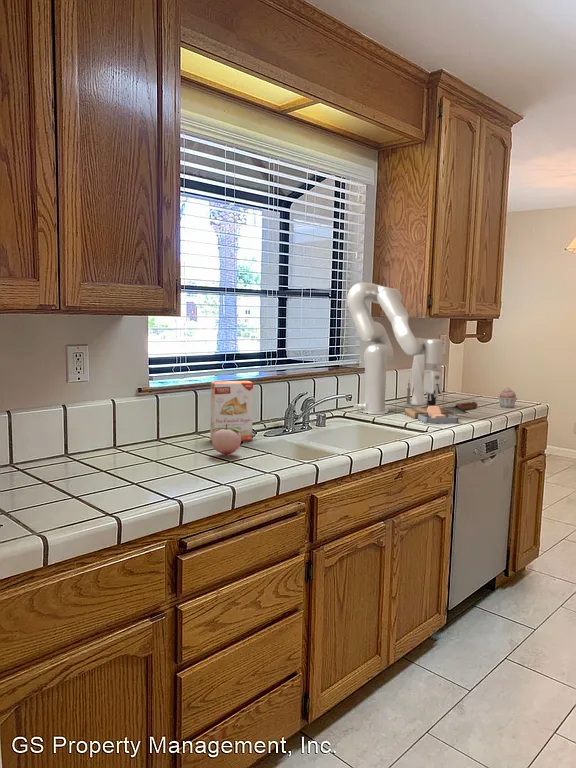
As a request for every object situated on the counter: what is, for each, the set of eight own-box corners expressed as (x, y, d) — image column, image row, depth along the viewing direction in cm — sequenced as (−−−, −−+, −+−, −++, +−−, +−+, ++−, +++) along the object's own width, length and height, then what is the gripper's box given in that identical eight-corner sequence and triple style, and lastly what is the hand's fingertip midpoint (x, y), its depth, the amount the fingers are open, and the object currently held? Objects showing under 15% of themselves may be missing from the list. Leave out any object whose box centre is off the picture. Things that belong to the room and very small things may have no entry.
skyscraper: (417, 403, 294) (419, 348, 291) (429, 405, 287) (431, 349, 284) (405, 404, 289) (407, 349, 286) (417, 406, 283) (420, 350, 279)
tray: (426, 424, 237) (426, 418, 237) (417, 419, 247) (417, 414, 247) (458, 423, 239) (458, 417, 239) (447, 419, 249) (448, 413, 249)
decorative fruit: (210, 459, 176) (209, 427, 175) (212, 452, 184) (212, 421, 183) (240, 459, 176) (240, 427, 175) (242, 452, 184) (242, 422, 183)
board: (414, 419, 247) (414, 412, 247) (404, 414, 259) (404, 408, 259) (453, 418, 250) (454, 412, 250) (442, 414, 262) (442, 407, 262)
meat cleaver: (447, 418, 253) (447, 409, 253) (427, 414, 262) (427, 406, 262) (491, 412, 274) (492, 404, 273) (471, 409, 283) (472, 400, 282)
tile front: (431, 414, 244) (431, 419, 244) (435, 415, 239) (435, 421, 240) (441, 413, 244) (441, 419, 245) (445, 415, 240) (445, 421, 240)
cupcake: (518, 406, 287) (520, 387, 286) (514, 409, 279) (516, 388, 278) (499, 405, 292) (500, 385, 291) (494, 407, 284) (496, 387, 283)
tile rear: (429, 417, 245) (431, 413, 244) (426, 409, 248) (428, 405, 247) (439, 417, 246) (441, 413, 244) (436, 409, 249) (438, 405, 247)
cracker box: (214, 443, 197) (214, 383, 194) (210, 440, 202) (209, 381, 200) (253, 440, 202) (253, 381, 199) (247, 437, 207) (248, 380, 205)
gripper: (448, 369, 241) (446, 412, 243) (433, 366, 256) (432, 406, 258) (431, 369, 240) (430, 412, 242) (417, 366, 254) (416, 406, 257)
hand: (431, 409), depth 250 cm, fingers closed
